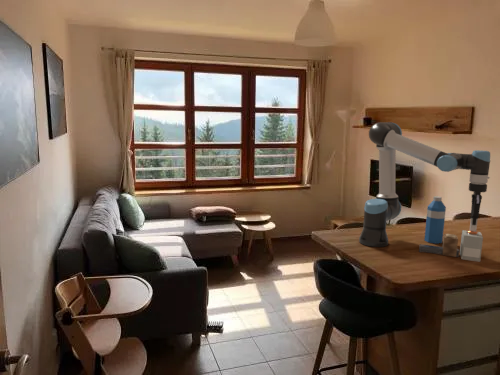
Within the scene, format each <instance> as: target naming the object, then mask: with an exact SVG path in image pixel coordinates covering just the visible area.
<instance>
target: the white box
mask: <svg viewBox="0 0 500 375" xmlns="http://www.w3.org/2000/svg"><path fill="white" fill-rule="evenodd" d="M467 231H468V230H465V229H464V230H463V229H462V231H461V236H460V237H461V238H460V248H459V257H460V258H461V260H464V261H472V262H481V259H482V250H483V242H484V237H483V234H482V232H480V231H477V232H478V234H477V236H476V235H468V233H467Z"/></svg>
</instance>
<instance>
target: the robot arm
mask: <svg viewBox="0 0 500 375" xmlns="http://www.w3.org/2000/svg"><path fill="white" fill-rule="evenodd" d="M368 139H369V140H370V141H371V142H372V144H375V145H376V147H375V148H376V149H377V150H378V156H379V157H378V160H379V161H378V171H379V172H378V175H379V176H378V180H379V181H378V182H379V183H378V187H379V188H378V194H377V195H376V198H371V199H368V200H366V201H365V203H364V212H363V228H362V231H361V233H360V235H359V239H358V242H359V243H360V244H362V245H364V246H368V247H373V248H377V247H378V248H384V247H386V246H387V247H388V245H389V238H388V234H387V231H386V230H387V221H390V220H391V221H392V220H394V219H396V218H397V217H398V216H399V215H400V214H401V211H402V203H401V202H400V201H399V195H398V194H397V193H396V164H397V163H396V158H397V157H396V152H397V151H398V152H400V153H403V154H406V155H408V156H410V157H412V158H414V159H417V160H419V161H423V162H425V163H427V164H429V165H431V166H434V167H437V168H438V170H440V171H442V172H443V173H444V172H447V173H449V172H452V171H455V170H468V171H470V172H469V173H470V174H469V183H468V191H469V192H473V194H471V209H470V210H471V211H470V216H469V219H470V224H469V230H470V231H474V232H476V231H477V228H478V227H477V226H478V220H479V217H480V216H479V215H480V210H481V209H480V208H481V203H482V198H483V196H482V194H481V193H486V192H487V190H488V184H487V183H488V180H489V179H490V178H491V177H490V176H489V172H490V163H491V151H488V150H477V149H476V150H473V151H472V153H469V154H468V153H459V152H445V151H442V150H440V149H437V148H435V147H432V146H430V145H426V144H424V143H422V142H419V141H416V140H413V139H411V138H409V137H406V136H404V135H403V131H402V128H401V127H400V126H399V125H398V124H397V123H394V122H392V121H388V122H385V121H384V122H383V121H382V122H381V121H380V122H376V123H374V124H373V125H372V126H371V127H370V128H369V130H368Z"/></svg>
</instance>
